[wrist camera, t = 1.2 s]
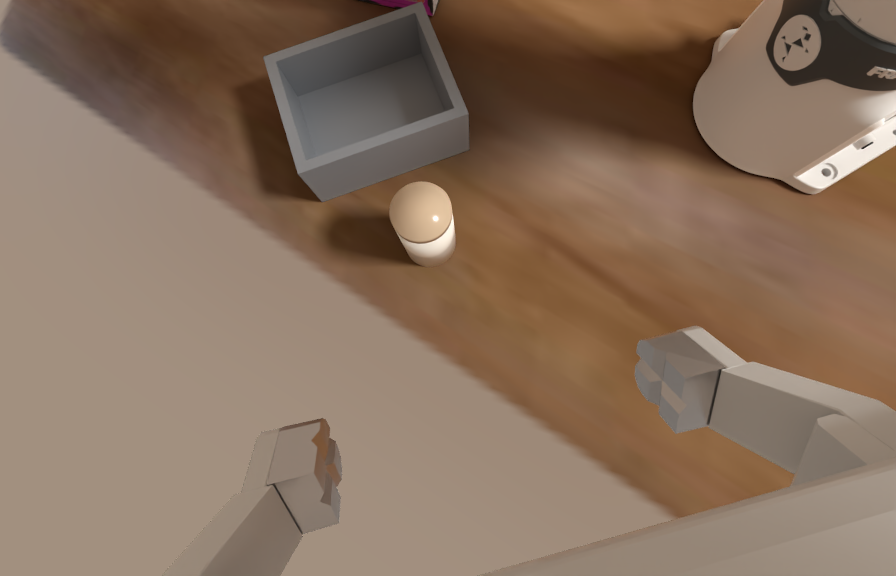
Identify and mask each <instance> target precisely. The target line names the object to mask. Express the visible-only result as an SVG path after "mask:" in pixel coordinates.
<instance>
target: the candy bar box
mask: <svg viewBox="0 0 896 576" xmlns="http://www.w3.org/2000/svg"><path fill="white" fill-rule="evenodd" d="M359 1H364V2H369V3H373V4H378V5H383V6H388V7H392V8H397V9H401V8H404V7H407V6H410V5H413V4H416V3H418V2H421V1H422V3H423V5H424V8H425V10H426V13H427V15H430V16H433V15H434V13H435V11H436V8H437V5H438V2H439V0H359Z"/></svg>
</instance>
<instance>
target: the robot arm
mask: <svg viewBox="0 0 896 576" xmlns="http://www.w3.org/2000/svg"><path fill="white" fill-rule="evenodd" d="M693 113H694V118H695V122H696V125H697V127H698V129H699V131H700V133H701V135H702V137H703V138H704V140H705V141H706V143H707V144H708V145H709V146H710V148H711V149H712V150H713V151H714V152H715V153H716V154H718V155H719V156H720V157H721V158H722V159H724V160H725V161H727V162H728V163H730V164H732V165H733V166H735V167H737V168H739V169H742V170H744V171H747V172H749V173H753V174H756V175H761V176H766V177H771V178H776V179H779V180H782V181H784V182H786V183H787V184H789V185H791V186H793V187H794V188H796V189H798V190H800V191H802V192H805V193H808V194H816V193H819V192H821V191H823V190H824V189H826V188H827V187H829V186H831V185H832V184H834V183H836V182H837V181H839V180H840V179H842V178H844V177H845V176H847V175H849V174H850V173H852V172H853V171H855V170H857V169H858V168H860V167H862V166H863V165H865V164H866V163H868V162H870V161H871V160H873V159H875V158H876V157H878V156H880V155H881V154H883V153H884V152H886V151H888V150H889V149H891V148H893V147H894V146H896V0H763V2H762V3H761V4H760V5H759V6H758V7H757V8H756V9H755V10H754V12H753V13H752V14H751V15H750V16H749V17H748V18H747V20H746V21H745V22H744V23H743V24H742V25H741V26H740V27H739V28H737V29H731V30H727V31H725V32H724V33H722V35H721V36H720V37H719V38H718V39H717V40H716V42H715V44H714V47H713V53H712V61H711V63H710V65H709V67H708V68H707V70H706V71H705V72H704V74H703V75H702V76H701V78H700V80H699V82H698V84H697V86H696V89H695V92H694V97H693ZM822 173H823V174H824V175H825V176H824V175H823V174H822ZM637 354H638V355H639V356H640V357H641V359H640V360H639V362H638V363H637V364H636V366H635V378H636V382H637V385H638V387H639V389H640V391H641V393H642V394H643V396H644V397H645V398H646V399H647V400H648V401H649V402H652V403H654V404H656V405H658V406H659V415H660V416H661V417H662V418H663V419H664V421H665V422H666V423H667V424H668V425H669V426H670V428H671V429H672V430H673V431H674V432H675V433H681V432H685V431H689V430H693V429H698V428H702V427H706V426H709V428H710V429H712V430H714V431H716V432H717V433H719V434H721V435H723V436H725V437H727V438H729V439H730V440H732V441H734V442H736V443H738V444H740V445H741V446H743V447H745V448H747V449H749V450H751V451H752V452H754V453H756V454H758V455H760V456H762V457H764V458H765V459H767V460H769V461H771V462H773V463H775V464H776V465H778V466H780V467H782V468H784V469H786V470H787V471H789V472H791V473H793V474H795V475H794V478H793V480H792V483H791V485H790V487H787V488H784V489H780V490H777V491H773V492H770V493H766V494H763V495H759V496H756V497H752V498H749V499H745V500H742V501H738V502H735V503H731V504H728V505H724V506H720V507H717V508H713V509H710V510H706V511H703V512H699V513H696V514H692V515H689V516H685V517H682V518H678V519H675V520H671V521H668V522H664V523H661V524H657V525H654V526H650V527H647V528H643V529H640V530H636V531H633V532H629V533H625V534H622V535H619V536H615V537H611V538H608V539H604V540H601V541H597V542H594V543H590V544H587V545H583V546H580V547H576V548H573V549H569V550H566V551H562V552H559V553H555V554H552V555H548V556H545V557H541V558H538V559H534V560H531V561H527V562H524V563H520V564H517V565H513V566H509V567H506V568H503V569H499V570H496V571H492V572H488V573H485V574H481V575H478V576H896V411H894V410H893V409H891V408H890V407H888V406H887V405H885V404H883V403H882V402H880V401H879V400H876V399H872V398H869V397H866V396H863V395H859V394H856V393H853V392H850V391H846V390H843V389H840V388H837V387H833V386H830V385H827V384H824V383H821V382H817V381H814V380H811V379H808V378H804V377H801V376H798V375H795V374H791V373H788V372H785V371H782V370H778V369H775V368H772V367H769V366H766V365H762V364H759V363H756V362H750V363H747V362H745V361H744V360H743V359H742V358H740V357H739V356H738V355H736V354H735V353H734V352H732V351H731V350H730V349H729V348H727V347H726V346H725V345H723V344H722V343H721V342H719V341H718V340H717V339H716V338H714V337H713V336H712V335H710V334H709V333H708V332H707V331H705V330H704V329H703V328H701V327H698V326H692V327H688V328H684V329H681V330H677V331H674V332H670V333H666V334H662V335H658V336H654V337H650V338H646V339H642V340H640V341H639V343H638V345H637ZM329 436H330V427H329V425H328V423H327V421H326V419H323V418H321V419H317V420H312V421H308V422H303V423H299V424H295V425H290V426H285V427H282V428H279V429H275V430H269V431H265V432H261V433H260V435H259V436H258V437H257V440H256V443H255V447H254V450H253V454H252V457H251V460H250V464H249V467H248V471H247V474H246V477H245V481H244V484H243V487H242V491H241V493H238V494H235V495H234V496H233V497H232V498H231V499H230V500H229V501H228V502H227V503H226V504H225V506H224V507H223V508H222V509H221V510H220V511H219V512H218V513H217V515H216V516H215V517H214V518H213V519H212V520H211V521H210V522H209V523H208V525H207V526H206V527H205V528H204V529H203V530H202V531H201V532H200V533H199V535H198V536H197V537H196V538H195V539H194V540H193V541H192V542H191V543H190V545H189V546H188V547H187V548H186V549H185V550H184V551H183V552H182V553H181V555H180V556H179V557H178V558H177V559H176V560H175V561H174V563H172V565H171V566H170V567H169V568H168V569H167V570H166V571H165V572H164V574H163V575H162V576H280V575H281V573H282V572H283V570H284V568H285V566H286V565H287V563H288V561H289V559H290V558H291V556H292V554H293V553H294V551H295V549H296V547H297V546H298V544H299V542H300V540H301V538H302V537H303V536H302V534H305V533H308V532H311V531H315V530H318V529H321V528H325V527H328V526H332V525H335V524H338V523H339V514H340V499H341V498H340V495H339V492H338V490H337V488H336V487H337V486H338V484H339V483H340V481H341V480H342V465H341V456H340V453H339V449H338V446H337V444H336V441H334V440H332V439H331V438H329Z"/></svg>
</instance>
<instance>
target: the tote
mask: <svg viewBox="0 0 896 576" xmlns="http://www.w3.org/2000/svg"><path fill="white" fill-rule="evenodd" d="M263 58H264V61H265V65H266V68H267V72H268V75H269V78H270V82H271V85H272V88H273V92H274V95H275V99H276V102H277V105H278V109H279V112H280V115H281V119H282V122H283V125H284V129H285V132H286V136H287V139H288V142H289V146H290V149H291V152H292V156H293V159H294V162H295V166H296V169H297V173H298V175H299V176H300V177H301V178H302V179H303V180H304V182H305V183H306V184H307V185H308V186H309V187H310V189H311V190H312V191H313V192H314V193H315V194H316V196H317V197H318V198H319V199H320V200H321V201H322V202H324V201H327V200H330V199H333V198H336V197H338V196H341V195H344V194H347V193H350V192H352V191H355V190H358V189H361V188H364V187H366V186H369V185H372V184H375V183H378V182H381V181H383V180H386V179H389V178H392V177H395V176H397V175H400V174H403V173H406V172H409V171H412V170H414V169H417V168H420V167H423V166H426V165H428V164H431V163H434V162H437V161H440V160H442V159H445V158H448V157H451V156H454V155H457V154H459V153H462V152H465V151H468V150H469V113H468V111H467V108H466V106H465V103H464V101H463V99H462V96H461V94H460V91H459V89H458V87H457V84H456V82H455V80H454V77H453V75H452V72H451V70H450V68H449V65H448V63H447V60H446V58H445V56H444V53H443V51H442V48H441V46H440V44H439V41H438V39H437V36H436V34H435V32H434V29H433V27H432V25H431V22H430V20H429V17H428V15H427V13H426V10H425V8H424V5H423V3H422V1H421V2H418V3H416V4H413V5H410V6H407V7H404V8H401V9H398V10H396V11H393V12H390V13H387V14H384V15H381V16H378V17H375V18H373V19H370V20H367V21H364V22H361V23H358V24H355V25H353V26H350V27H347V28H344V29H341V30H338V31H335V32H332V33H330V34H327V35H324V36H321V37H318V38H315V39H312V40H310V41H307V42H304V43H301V44H298V45H295V46H292V47H290V48H287V49H284V50H281V51H278V52H275V53H272V54H269V55H267V56H264V57H263Z"/></svg>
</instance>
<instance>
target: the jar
mask: <svg viewBox="0 0 896 576" xmlns="http://www.w3.org/2000/svg"><path fill="white" fill-rule="evenodd" d="M389 215H390V220H391V223H392V225H393V227H394V229H395V231H396V233H397V235H398V236H399V238H400V240H401V242H402V244H403V246H404V248H405V249H406V251H407V253H408V255H409V257H410V258H411V259H412V260H413V261H414V262H415V263H417V264H419V265H421V266H425V267H435V266H439V265H441V264H443V263H445V262H446V261H447V260H448V259H449V258H450V257H451V256H452V254H453V253H454V250H455V247H456V237H455V229H454V221H453V214H452V206H451V202H450V199H449V197H448V195H447V194H446V192H445V191H444V190H443V189H442V188H440V187H439V186H437V185H435V184H433V183H429V182H414V183H410V184H408V185H406V186H404V187H403V188H401V189H400V190H399V191H398V192H397V193H396V194H395V196H394V197H393V199H392V201H391V204H390V209H389Z"/></svg>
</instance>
